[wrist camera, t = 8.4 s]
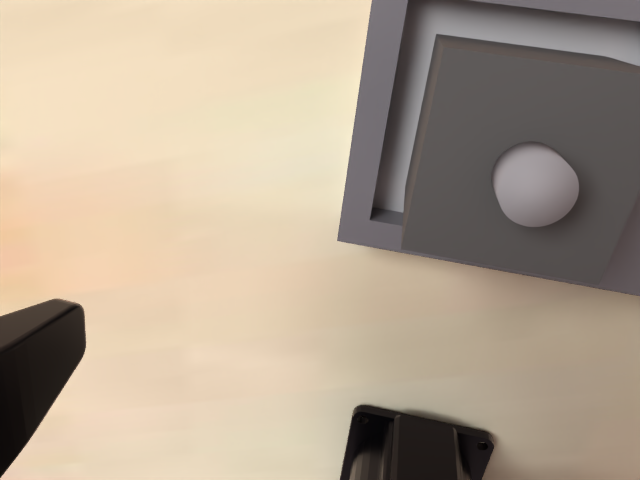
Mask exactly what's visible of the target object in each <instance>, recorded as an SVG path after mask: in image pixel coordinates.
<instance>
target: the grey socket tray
mask: <svg viewBox="0 0 640 480" xmlns="http://www.w3.org/2000/svg"><path fill="white" fill-rule="evenodd" d="M436 34H442V35H450V36H457V37H465V38H472V39H480V40H487V41H495V42H502V43H510V44H517V45H525V46H532V47H540V48H547V49H555V50H562V51H570V52H577V53H585V54H592V55H600V56H606V57H610V58H613V59H617V60H620V61H623V62H627V63H630V64H634V65H637V66H640V0H372V4H371V11H370V18H369V25H368V32H367V39H366V46H365V52H364V59H363V66H362V73H361V80H360V87H359V94H358V101H357V108H356V115H355V122H354V128H353V135H352V142H351V149H350V156H349V163H348V170H347V177H346V184H345V191H344V197H343V204H342V211H341V218H340V225H339V232H338V239H337V241H341V242H346V243H352V244H357V245H363V246H368V247H374V248H379V249H385V250H390V251H396V252H401V253H407V254H412V255H418V256H423V257H429V258H434V259H439V260H445V261H450V262H456V263H461V264H467V265H472V266H478V267H483V268H489V269H494V270H500V271H505V272H511V273H516V274H522V275H527V276H533V277H538V278H544V279H549V280H555V281H560V282H566V283H571V284H577V285H582V286H588V287H593V288H599V289H604V290H610V291H615V292H621V293H626V294H632V295H637V296H640V191H639V194H638V196H637V198H636V201H635V203H634V205H633V207H632V210H631V212H630V214H629V217H628V219H627V221H626V224H625V226H624V228H623V230H622V233H621V235H620V237H619V240H618V242H617V244H616V247H615V249H614V251H613V253H612V256H611V258H610V260H609V263H608V265H607V267H606V270H605V272H604V274H603V276H602V279H601V281H600V283H599V285H594V284H589V283H583V282H578V281H572V280H567V279H561V278H556V277H550V276H545V275H539V274H534V273H528V272H523V271H517V270H512V269H506V268H501V267H495V266H490V265H484V264H479V263H473V262H468V261H462V260H457V259H451V258H446V257H440V256H435V255H429V254H424V253H418V252H412V251H407V250H401V240H402V225H403V211H404V196H405V185H406V180H407V175H408V170H409V165H410V160H411V155H412V150H413V145H414V140H415V135H416V130H417V126H418V121H419V116H420V111H421V106H422V101H423V96H424V91H425V86H426V81H427V76H428V71H429V67H430V62H431V57H432V52H433V47H434V42H435V37H436Z"/></svg>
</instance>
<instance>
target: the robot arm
mask: <svg viewBox="0 0 640 480" xmlns="http://www.w3.org/2000/svg"><path fill="white" fill-rule="evenodd" d="M85 348H86V333H85V315H84V309H83V307H82V306H81V305H80V304H78V303H74V302H71V301H67V300H63V299H52V300H49V301H46V302H43V303H40V304H37V305H34V306H31V307H28V308H25V309H21V310H18V311H15V312H12V313H9V314H6V315H3V316H0V478H1V476H2V475H3V474H4V473H5V471H6V470H7V469H8V468H9V466H10V465H11V464H12V462H13V461H14V460H15V459H16V457H17V456H18V455H19V453H20V452H21V451H22V449H23V448H24V447H25V446H26V444H27V443H28V441H29V440H30V438H31V437H32V436H33V434H34V433H35V431H36V430H37V428H38V427H39V425H40V423H41V422H42V420H43V419H44V417H45V416H46V414H47V413H48V411H49V409H50V408H51V406H52V405H53V403H54V402H55V400H56V398H57V397H58V395H59V394H60V392H61V391H62V389H63V388H64V386H65V384H66V383H67V381H68V380H69V378H70V377H71V375H72V373H73V372H74V370H75V369H76V367H77V366H78V364H79V362H80V361H81V359H82V357H83V355H84V352H85ZM361 416H365V417H361ZM480 442H485V443H480ZM493 449H494V444H493V438H492V436H491V435H490V434H489V433H487V432H484V431H479V430H475V429H470V428H466V427H461V426H456V425H452V424H447V423H443V422H438V421H433V420H429V419H424V418H420V417H415V416H410V415H406V414H401V413H397V412H392V411H387V410H383V409H378V408H374V407H369V406H362V405H361V406H357V407H356V408H355V409H354V411H353V415H352V420H351V425H350V430H349V435H348V440H347V445H346V450H345V456H344V461H343V466H342V471H341V476H340V480H481V479H482V477H483V474H484V472H485V469H486V467H487V464H488V462H489V459H490V456H491V454H492V451H493Z"/></svg>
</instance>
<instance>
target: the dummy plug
mask: <svg viewBox="0 0 640 480" xmlns="http://www.w3.org/2000/svg"><path fill="white" fill-rule="evenodd" d="M639 191H640V66H637V65H634V64H630V63H627V62H623V61H620V60H617V59H613V58H610V57H606V56H600V55H592V54H585V53H577V52H570V51H562V50H555V49H547V48H540V47H532V46H525V45H517V44H510V43H502V42H495V41H487V40H480V39H472V38H465V37H457V36H450V35H442V34H436V37H435V42H434V47H433V52H432V57H431V62H430V67H429V71H428V76H427V81H426V86H425V91H424V96H423V101H422V106H421V111H420V116H419V121H418V126H417V130H416V135H415V140H414V145H413V150H412V155H411V160H410V165H409V170H408V175H407V180H406V185H405V196H404V211H403V225H402V240H401V250H407V251H412V252H418V253H424V254H429V255H435V256H440V257H446V258H451V259H457V260H462V261H468V262H473V263H479V264H484V265H490V266H495V267H501V268H506V269H512V270H517V271H523V272H528V273H534V274H539V275H545V276H550V277H556V278H561V279H567V280H572V281H578V282H583V283H589V284H594V285H599V283H600V281H601V279H602V276H603V274H604V272H605V270H606V267H607V265H608V263H609V260H610V258H611V256H612V253H613V251H614V249H615V247H616V244H617V242H618V240H619V237H620V235H621V233H622V230H623V228H624V226H625V224H626V221H627V219H628V217H629V214H630V212H631V210H632V207H633V205H634V203H635V201H636V198H637V196H638V194H639Z"/></svg>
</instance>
